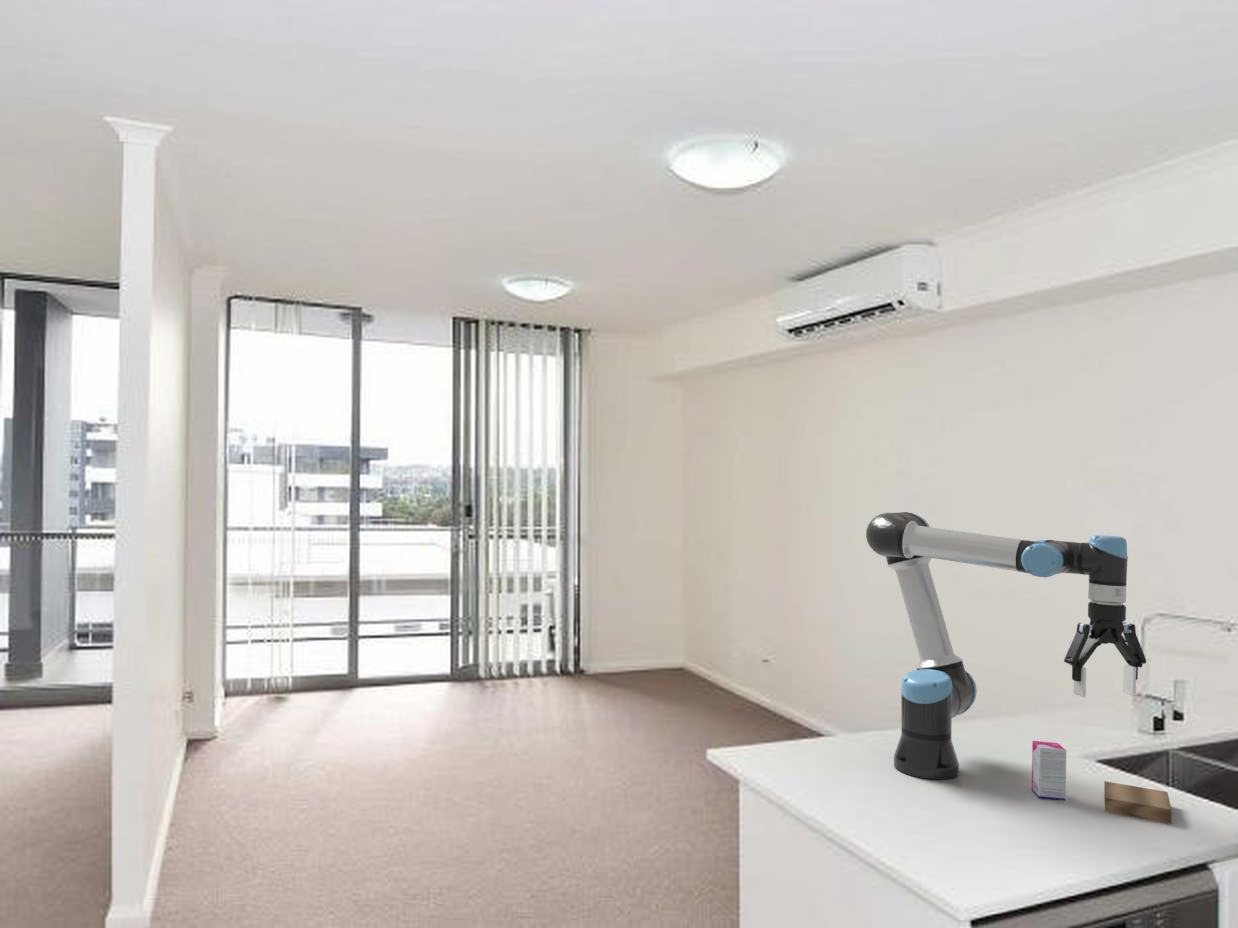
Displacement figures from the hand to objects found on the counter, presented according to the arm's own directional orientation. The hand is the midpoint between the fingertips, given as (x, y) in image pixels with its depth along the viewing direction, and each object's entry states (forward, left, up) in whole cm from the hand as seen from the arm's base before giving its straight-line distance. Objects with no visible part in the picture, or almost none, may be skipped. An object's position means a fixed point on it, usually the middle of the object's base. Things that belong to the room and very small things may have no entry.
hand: (1104, 694), depth 188 cm
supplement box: (-11, -9, -23) cm, 27 cm away
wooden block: (+6, -7, -23) cm, 24 cm away
